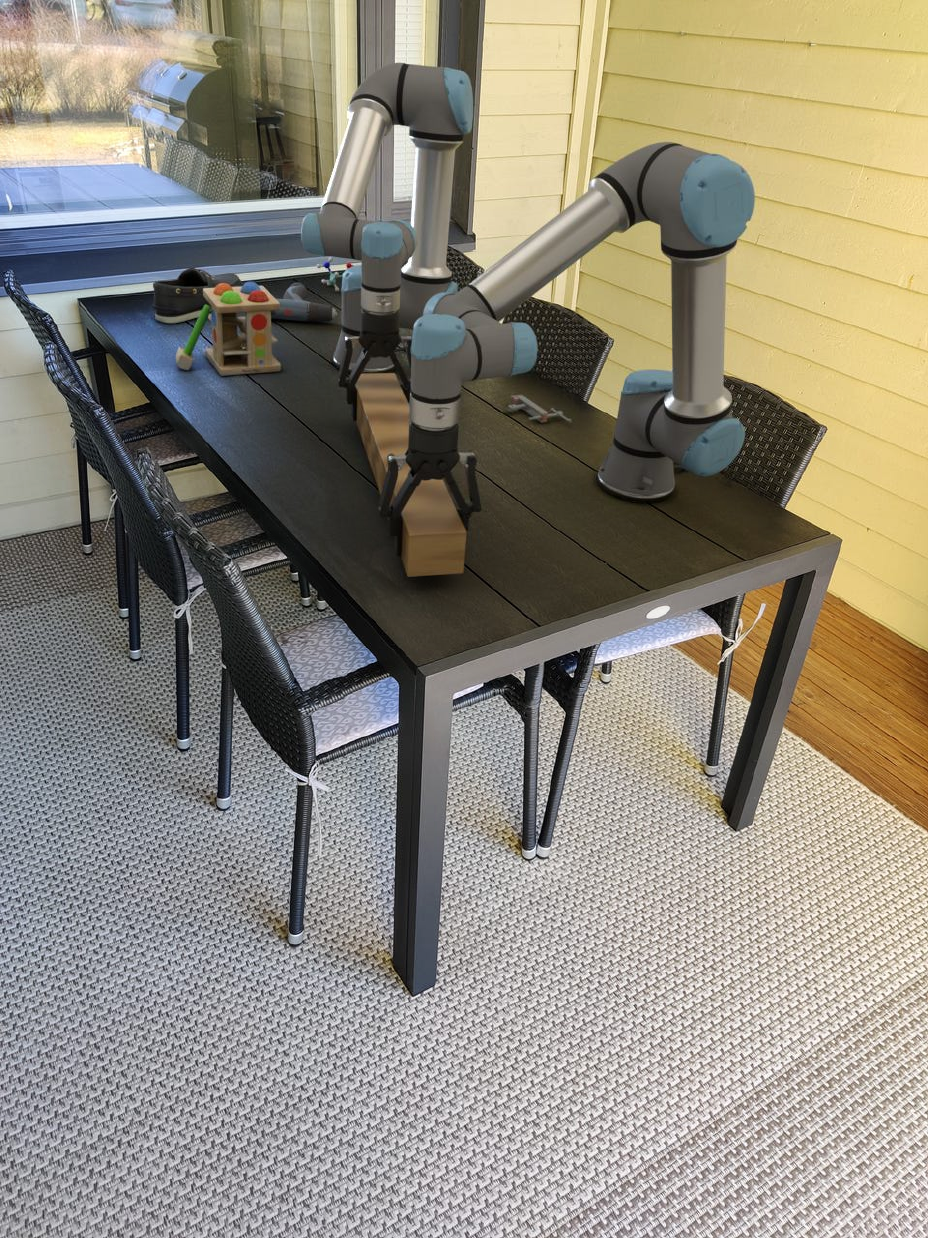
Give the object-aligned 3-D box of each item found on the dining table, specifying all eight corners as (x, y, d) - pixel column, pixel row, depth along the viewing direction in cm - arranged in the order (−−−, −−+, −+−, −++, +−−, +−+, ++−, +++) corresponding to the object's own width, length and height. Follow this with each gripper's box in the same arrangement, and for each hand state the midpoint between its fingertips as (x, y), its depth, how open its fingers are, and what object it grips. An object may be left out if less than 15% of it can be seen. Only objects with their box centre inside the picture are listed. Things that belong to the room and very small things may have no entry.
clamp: (499, 396, 222) (536, 391, 226) (498, 406, 223) (534, 400, 228) (535, 422, 211) (573, 416, 216) (534, 432, 213) (571, 425, 217)
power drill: (344, 304, 276) (335, 327, 259) (277, 298, 275) (264, 321, 258) (344, 285, 273) (335, 306, 256) (277, 279, 272) (264, 300, 255)
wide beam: (351, 407, 207) (351, 373, 203) (393, 406, 209) (394, 372, 205) (407, 576, 154) (409, 535, 150) (463, 573, 156) (466, 532, 152)
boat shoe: (261, 302, 273) (259, 263, 267) (172, 325, 249) (168, 283, 243) (227, 293, 278) (225, 255, 273) (137, 316, 254) (132, 274, 249)
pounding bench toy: (183, 379, 220) (176, 299, 210) (169, 357, 231) (162, 280, 221) (282, 371, 230) (280, 294, 220) (264, 350, 240) (262, 276, 230)
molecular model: (349, 283, 280) (337, 248, 279) (321, 295, 284) (310, 261, 283) (366, 286, 291) (354, 252, 289) (339, 298, 294) (328, 265, 293)
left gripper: (325, 315, 184) (326, 426, 197) (439, 315, 189) (432, 424, 202) (321, 302, 190) (322, 411, 203) (431, 303, 195) (425, 409, 208)
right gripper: (365, 434, 142) (364, 566, 155) (510, 429, 147) (497, 557, 160) (358, 413, 148) (358, 542, 161) (497, 409, 153) (486, 534, 166)
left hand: (377, 417), depth 203 cm, fingers closed on wide beam, 9 cm apart
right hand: (427, 549), depth 160 cm, fingers closed on wide beam, 9 cm apart
